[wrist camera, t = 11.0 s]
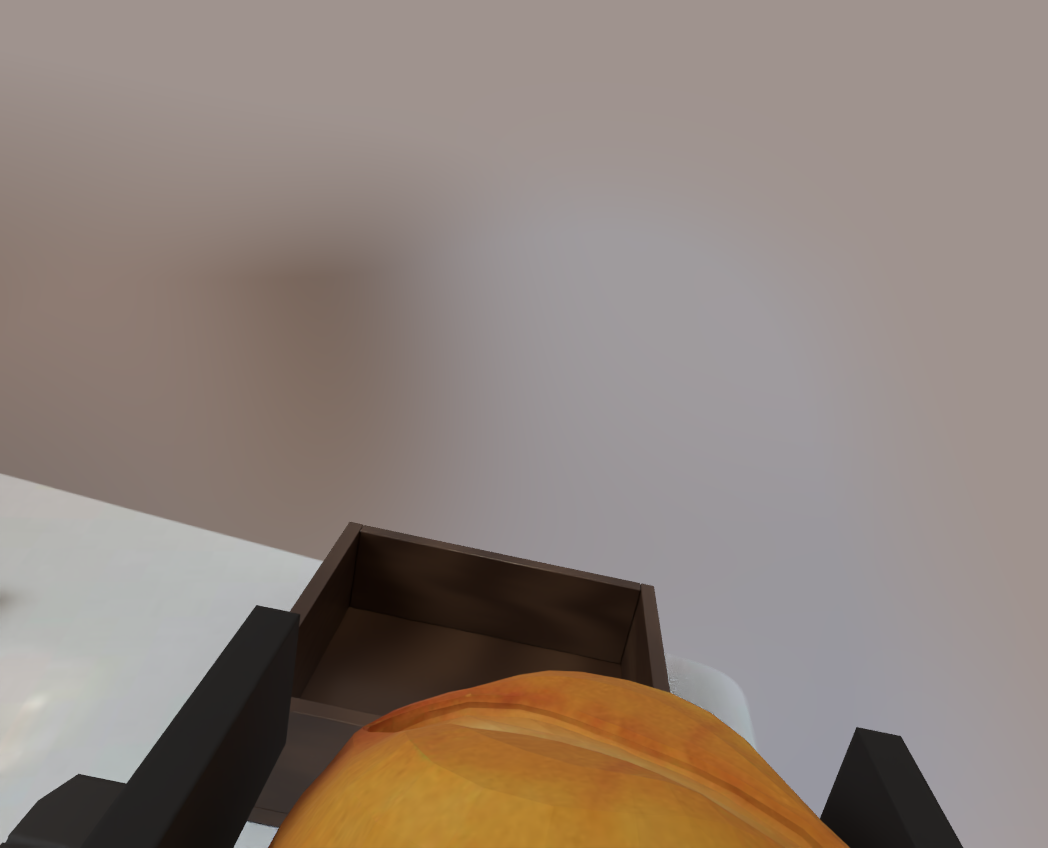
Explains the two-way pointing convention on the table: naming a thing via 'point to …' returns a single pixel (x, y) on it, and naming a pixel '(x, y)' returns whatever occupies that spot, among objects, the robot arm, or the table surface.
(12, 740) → the table surface
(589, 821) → the cheeseburger
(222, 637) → the table surface
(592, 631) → the bin
